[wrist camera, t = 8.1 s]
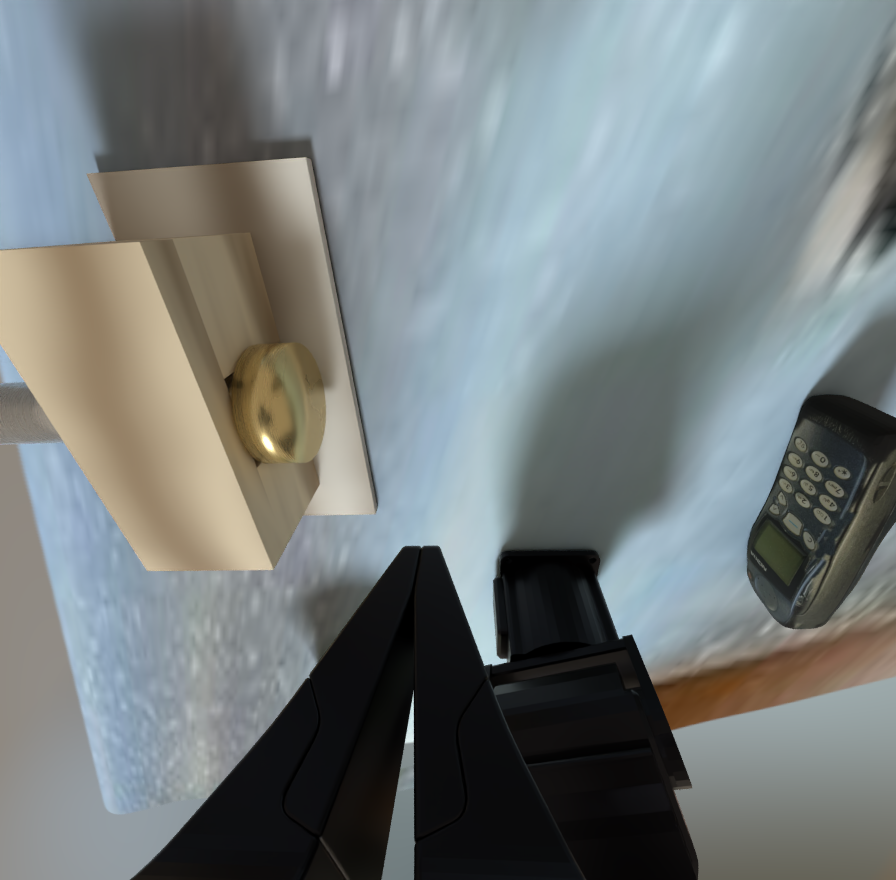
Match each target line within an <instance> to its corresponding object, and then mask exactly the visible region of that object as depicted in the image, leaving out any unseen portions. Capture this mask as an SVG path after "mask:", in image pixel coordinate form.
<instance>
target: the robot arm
mask: <svg viewBox="0 0 896 880" xmlns="http://www.w3.org/2000/svg"><path fill="white" fill-rule="evenodd" d="M590 558H591V559H590ZM599 565H600V557H599V554H598V553H597V552H596V551H592V550H588V551H506V552H503V553H502V554H501V555H500V576H499V577H496V578H495V579H494V580H493V608H494V622H495V636H496V649H497V656H498V657H499V658H500V659H507V663H503V664H498V665H494V666H492V664H490V665H485V666H484V664H483V661H482V659H481V656H480V653H479V651H478V648H477V645H476V643H475V640H474V637H473V634H472V632H471V629H470V626H469V624H468V621H467V618H466V616H465V613H464V610H463V608H462V605H461V602H460V600H459V597H458V594H457V592H456V589H455V586H454V584H453V581H452V578H451V575H450V573H449V570H448V567H447V565H446V562H445V559H444V557H443V554H442V551H441V549H440V547H439V546H423V547H422V548H421V547H420V546H405V547H403V548H402V549H401V551H400V552H399V553H398V555H397V556H396V557H395V559H394V560H393V561H392V563H391V564H390V566H389V567H388V568H387V570H386V571H385V572H384V574H383V575H382V576H381V578H380V579H379V580H378V582H377V583H376V585H375V586H374V587H373V589H372V590H371V591H370V593H369V594H368V595H367V597H366V598H365V600H364V601H363V602H362V604H361V605H360V606H359V608H358V609H357V610H356V612H355V613H354V615H353V616H352V617H351V619H350V620H349V621H348V623H347V624H346V625H345V627H344V628H343V629H342V631H341V632H340V634H339V635H338V636H337V638H336V639H335V640H334V642H333V643H332V644H331V646H330V647H329V649H328V650H327V651H326V653H325V654H324V655H323V657H322V658H321V659H320V661H319V662H318V664H317V665H316V666H315V668H314V669H313V670H312V672H311V673H310V675H309V677H310V678H306V679H305V681H304V682H303V684H302V685H301V686H300V688H299V689H298V691H297V692H296V693H295V695H294V696H293V697H292V699H291V700H290V701H289V702H288V704H287V705H286V706H285V708H284V709H283V710H282V712H281V713H280V714H279V715H278V717H277V718H276V719H275V721H274V722H273V723H272V725H271V726H270V727H269V728H268V729H267V730H266V732H265V733H264V734H263V735H262V736H261V738H260V739H259V740H258V741H257V742H256V743H255V745H254V746H253V747H252V748H251V749H250V751H249V752H248V753H247V754H246V755H245V756H244V758H243V759H242V760H241V761H240V762H239V763H238V764H237V766H236V767H235V768H234V769H233V770H232V771H231V772H230V774H229V775H228V776H227V777H226V778H225V779H224V780H223V782H222V783H221V784H220V785H219V786H218V787H217V788H216V790H215V791H214V792H213V793H212V794H211V795H210V796H209V798H208V799H207V800H206V801H205V802H204V803H203V804H202V806H201V807H200V808H199V809H198V810H197V811H196V812H195V814H194V815H193V816H192V817H191V818H190V819H189V821H188V822H187V823H186V824H185V825H184V826H183V827H182V828H181V830H180V831H179V832H178V833H177V834H176V835H175V836H174V837H173V839H172V840H171V841H170V842H169V843H168V844H167V845H166V846H165V847H164V848H163V849H162V850H161V851H160V852H159V853H158V854H157V855H156V856H155V857H154V859H152V860H151V861H150V862H149V863H148V864H147V865H146V866H145V867H144V868H143V869H142V870H140V871H139V872H138V873H137V874H136V875H135V876H134V877H133V878H131V879H130V880H381V879H382V873H383V867H384V860H385V855H386V849H387V843H388V838H389V832H390V825H391V820H392V814H393V808H394V802H395V796H396V791H397V785H398V779H399V773H400V767H401V761H402V755H403V750H404V744H405V738H406V732H407V726H408V720H409V714H410V708H411V703H412V697H413V691H414V839H415V843H416V844H415V847H414V880H698V859H697V855H696V852H695V849H694V846H693V843H692V840H691V837H690V834H689V831H688V827H687V825H686V822H685V819H684V816H683V814H682V811H681V808H680V805H679V803H678V800H677V797H676V794H675V792H674V790H678V789H679V790H680V789H689V788H692V785H691V782H690V779H689V776H688V774H687V771H686V768H685V766H684V763H683V760H682V758H681V755H680V752H679V750H678V747H677V744H676V742H675V739H674V737H673V734H672V732H671V729H670V726H669V724H668V721H667V719H666V716H665V714H664V711H663V709H662V706H661V704H660V701H659V699H658V696H657V694H656V692H655V689H654V687H653V684H652V682H651V679H650V677H649V675H648V672H647V670H646V667H645V665H644V662H643V660H642V658H641V655H640V653H639V650H638V648H637V645H636V643H635V641H634V638H633V636H632V635H627V636H623V637H622V639H619V638H618V635H617V632H616V629H615V626H614V624H613V621H612V618H611V615H610V613H609V610H608V607H607V604H606V602H605V599H604V596H603V593H602V591H601V588H600V585H599V582H598V580H597V574H598V569H599Z"/></svg>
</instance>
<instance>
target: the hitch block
mask: <svg viewBox="0 0 896 880" xmlns="http://www.w3.org/2000/svg"><path fill="white" fill-rule="evenodd" d="M87 176H88V178H89V181H90V183H91V185H92V188H93V190H94V192H95V194H96V197H97V199H98V201H99V204H100V206H101V208H102V211H103V213H104V215H105V217H106V220H107V222H108V224H109V227H110V229H111V231H112V233H113V236H114V238H115V240H116V241H110V242H97V243H84V244H71V245H58V246H45V247H31V248H18V249H5V250H0V344H1V346H2V348H3V349H4V351H5V352H6V354H7V355H8V357H9V358H10V360H11V361H12V363H13V364H14V366H15V368H16V369H17V371H18V372H19V374H20V375H21V377H22V378H23V380H24V381H25V383H26V385H27V386H28V388H29V389H30V391H31V392H32V394H33V395H34V397H35V398H36V400H37V402H38V403H39V405H40V406H41V408H42V409H43V411H44V412H45V414H46V415H47V417H48V418H49V420H50V422H51V423H52V425H53V426H54V428H55V429H56V431H57V432H58V434H59V435H60V437H61V439H62V440H63V442H64V443H65V445H66V446H67V448H68V449H69V451H70V452H71V454H72V456H73V457H74V459H75V460H76V462H77V463H78V465H79V466H80V468H81V469H82V471H83V472H84V474H85V476H86V477H87V479H88V480H89V482H90V483H91V485H92V486H93V488H94V489H95V491H96V493H97V494H98V496H99V497H100V499H101V500H102V502H103V503H104V505H105V506H106V508H107V510H108V511H109V513H110V514H111V516H112V517H113V519H114V520H115V522H116V523H117V525H118V527H119V528H120V530H121V531H122V533H123V534H124V536H125V537H126V539H127V540H128V542H129V543H130V545H131V547H132V548H133V550H134V551H135V553H136V554H137V556H138V557H139V559H140V560H141V562H142V564H143V565H144V567H145V568H146V570H147V571H201V570H274V568H275V566H276V565H277V563H278V561H279V559H280V557H281V555H282V553H283V552H284V550H285V548H286V546H287V544H288V542H289V540H290V539H291V537H292V535H293V533H294V531H295V529H296V527H297V526H298V524H299V522H300V520H301V518H302V516H304V515H364V514H376V511H377V503H376V497H375V492H374V487H373V482H372V476H371V471H370V466H369V461H368V455H367V450H366V445H365V440H364V434H363V429H362V424H361V419H360V413H359V408H358V403H357V398H356V392H355V387H354V382H353V377H352V371H351V366H350V361H349V356H348V350H347V345H346V340H345V335H344V329H343V324H342V319H341V314H340V308H339V303H338V298H337V293H336V287H335V282H334V277H333V272H332V266H331V261H330V256H329V251H328V245H327V240H326V235H325V230H324V224H323V219H322V214H321V209H320V204H319V198H318V193H317V188H316V183H315V177H314V172H313V167H312V162H311V159H309V158H306V157H303V158H289V159H276V160H263V161H250V162H236V163H223V164H210V165H196V166H183V167H170V168H157V169H143V170H130V171H117V172H104V173H90V174H87ZM292 342H296V343H300V344H302V345H304V346H305V347H306V348H307V349H308V350H309V351H310V353H311V354H312V356H313V357H314V359H315V361H316V363H317V365H318V368H319V371H320V374H321V377H322V381H323V386H324V392H325V400H326V423H325V431H324V436H323V440H322V444H321V446H320V449H319V451H318V453H317V454H316V456H315V457H314V458H313V459H312V460H311V461H309V462H306V463H278V464H265V463H261V462H259V461H257V460H256V459H255V458H253V457H252V456H251V455H250V454H249V452H248V451H247V450H246V448H245V447H244V445H243V443H242V441H241V439H240V437H239V434H238V432H237V429H236V425H235V421H234V417H233V410H232V399H231V396H230V394H229V391H228V388H227V386H226V383H225V380H224V379H225V378H226V377H227V376H229V375H230V374H234V371H235V368H236V365H237V362H238V360H239V358H240V357H241V355H242V353H243V352H244V351H245V350H246V349H247V348H249V347H250V346H252V345H255V344H270V343H292Z"/></svg>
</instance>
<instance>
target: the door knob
mask: <svg viewBox="0 0 896 880" xmlns="http://www.w3.org/2000/svg"><path fill="white" fill-rule="evenodd" d="M224 380H225V383H226V386H227V388H228V391H229V394H230V396H231V399H232V410H233V417H234V421H235V425H236V429H237V432H238V434H239V437H240V439H241V441H242V443H243V445H244V447H245V448H246V450H247V451H248V452H249V454H250V455H251V456H252V457H253V458H255V459H256V460H257V461H259V462H261V463H265V464H278V463H306V462H309V461H311V460H312V459H313V458H314V457H315V456H316V454H317V453H318V451H319V449H320V446H321V444H322V440H323V436H324V431H325V423H326V400H325V392H324V386H323V381H322V377H321V374H320V371H319V368H318V365H317V363H316V361H315V359H314V357H313V356H312V354H311V353H310V351H309V350H308V349H307V348H306V347H305V346H304V345H302V344H300V343H296V342H292V343H270V344H255V345H252V346H250V347H249V348H247V349H246V350H245V351H244V352H243V353H242V355H241V357H240V358H239V360H238V362H237V365H236V368H235V371H234V374H230V375H229V376H227V377H226V378H225V379H224ZM35 443H64V442H63V440H62V439H61V437H60V435H59V434H58V432H57V431H56V429H55V428H54V426H53V425H52V423H51V422H50V420H49V418H48V417H47V415H46V414H45V412H44V411H43V409H42V408H41V406H40V405H39V403H38V402H37V400H36V398H35V397H34V395H33V394H32V392H31V391H30V389H29V388H28V386H27V385H26V383H25V382H19V383H0V445H1V444H35Z"/></svg>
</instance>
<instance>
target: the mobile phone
mask: <svg viewBox="0 0 896 880" xmlns="http://www.w3.org/2000/svg"><path fill="white" fill-rule="evenodd" d="M895 522H896V418H895V417H893V416H891V415H889V414H886V413H884V412H882V411H880V410H878V409H876V408H873V407H871V406H869V405H867V404H865V403H862V402H860V401H858V400H855V399H853V398H850V397H846V396H842V395H819V396H814V397H811V398H810V399H809V400H808V401H807V402H806V404H805V405H804V406H803V408H802V410H801V412H800V415H799V418H798V421H797V424H796V426H795V429H794V432H793V434H792V437H791V440H790V443H789V446H788V448H787V451H786V454H785V456H784V459H783V462H782V465H781V467H780V470H779V473H778V475H777V478H776V481H775V483H774V486H773V488H772V490H771V492H770V494H769V496H768V499H767V501H766V503H765V505H764V507H763V509H762V511H761V513H760V515H759V517H758V519H757V521H756V523H755V524H754V526H753V528H752V531H751V534H750V539H749V543H748V549H747V558H748V564H747V574H748V577H749V581H750V583H751V585H752V587H753V589H754V591H755V593H756V594H757V596H758V597H759V599H760V600H761V601H762V603H763V604H764V605H765V607H766V608H767V610H768V611H769V613H770V614H771V615H772V617H773V618H774V619H775V620H776V621H777V622H779V623H780V624H781V625H783V626H785V627H788V628H792V629H812V628H818V627H821V626H823V625H825V624H826V623H827V622H828V620H829V619H830V618H831V617H832V615H833V614H834V612H835V611H836V610H837V609H838V608H839V607H840V605H841V604H842V603H843V601H844V600H845V599H846V597H847V596H848V595H849V594H850V593H851V591H852V590H853V589H854V587H855V586H856V584H857V583H858V581H859V580H860V578H861V576H862V574H863V573H864V571H865V569H866V567H867V565H868V564H869V562H870V560H871V558H872V556H873V555H874V553H875V551H876V550H877V548H878V546H879V545H880V543H881V542H882V540H883V539H884V537H885V536H886V534H887V533H888V531H889V530H890V529H891V527H892V526H893V525H894V523H895Z"/></svg>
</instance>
